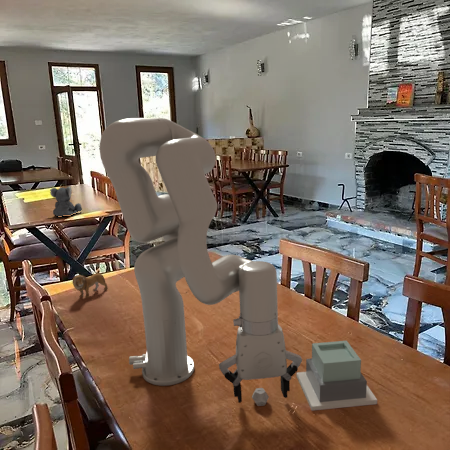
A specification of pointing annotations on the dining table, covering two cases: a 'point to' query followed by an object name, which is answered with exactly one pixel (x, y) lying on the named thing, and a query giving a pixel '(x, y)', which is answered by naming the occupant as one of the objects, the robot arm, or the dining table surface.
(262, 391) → the game die
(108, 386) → the dining table surface
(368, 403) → the stepped pedestal
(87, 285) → the lion figurine
